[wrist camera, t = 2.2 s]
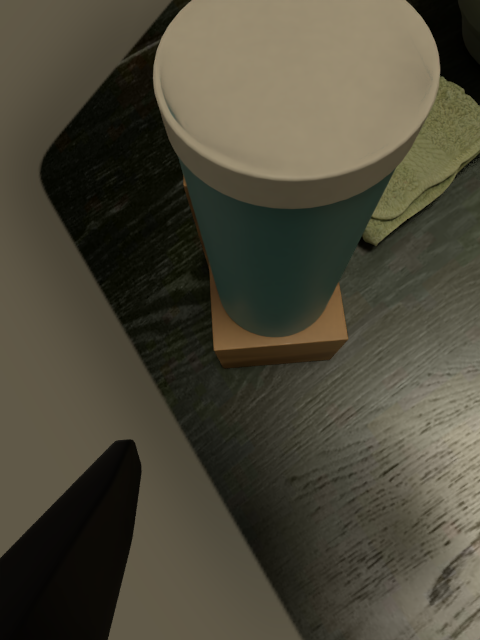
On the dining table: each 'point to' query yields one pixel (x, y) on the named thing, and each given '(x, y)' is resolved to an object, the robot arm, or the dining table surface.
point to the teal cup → (290, 138)
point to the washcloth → (429, 160)
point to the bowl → (471, 26)
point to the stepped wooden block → (258, 350)
